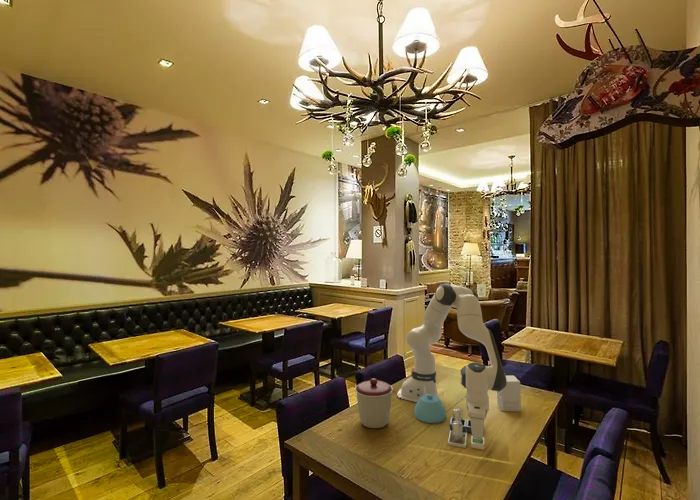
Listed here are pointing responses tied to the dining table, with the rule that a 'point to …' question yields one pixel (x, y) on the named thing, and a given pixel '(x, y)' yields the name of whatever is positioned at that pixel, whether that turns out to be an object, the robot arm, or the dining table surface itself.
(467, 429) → the dark two-compartment tray
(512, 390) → the supplement box
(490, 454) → the dining table surface
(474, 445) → the box
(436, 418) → the sugar bowl
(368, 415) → the canister
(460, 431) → the cylinder
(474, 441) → the button
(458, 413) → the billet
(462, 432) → the tote
